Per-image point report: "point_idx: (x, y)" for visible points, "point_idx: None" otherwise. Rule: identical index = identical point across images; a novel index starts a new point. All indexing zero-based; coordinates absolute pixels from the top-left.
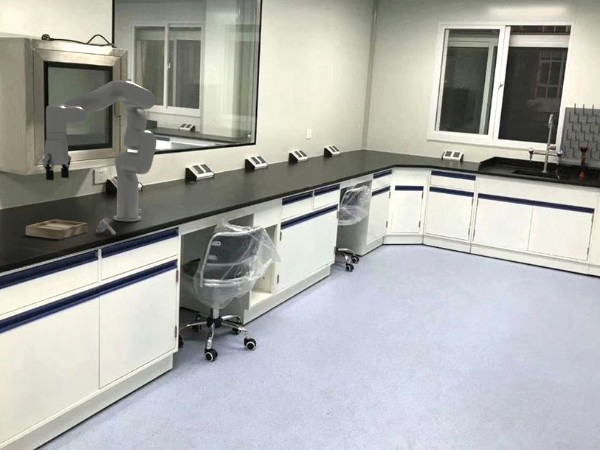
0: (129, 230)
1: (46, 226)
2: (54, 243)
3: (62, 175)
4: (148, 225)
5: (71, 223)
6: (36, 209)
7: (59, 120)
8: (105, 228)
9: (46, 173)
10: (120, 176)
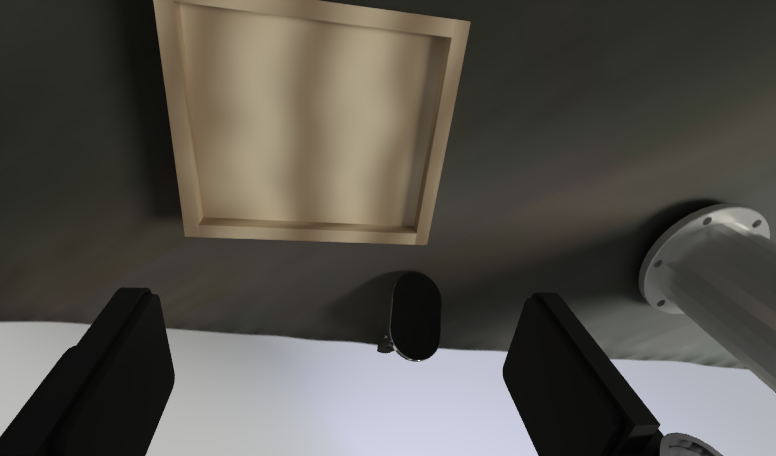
0: (504, 333)
1: (309, 57)
2: (110, 235)
3: (533, 333)
4: (618, 341)
5: (426, 158)
6: None
7: None
8: (435, 300)
9: (61, 382)
10: None
